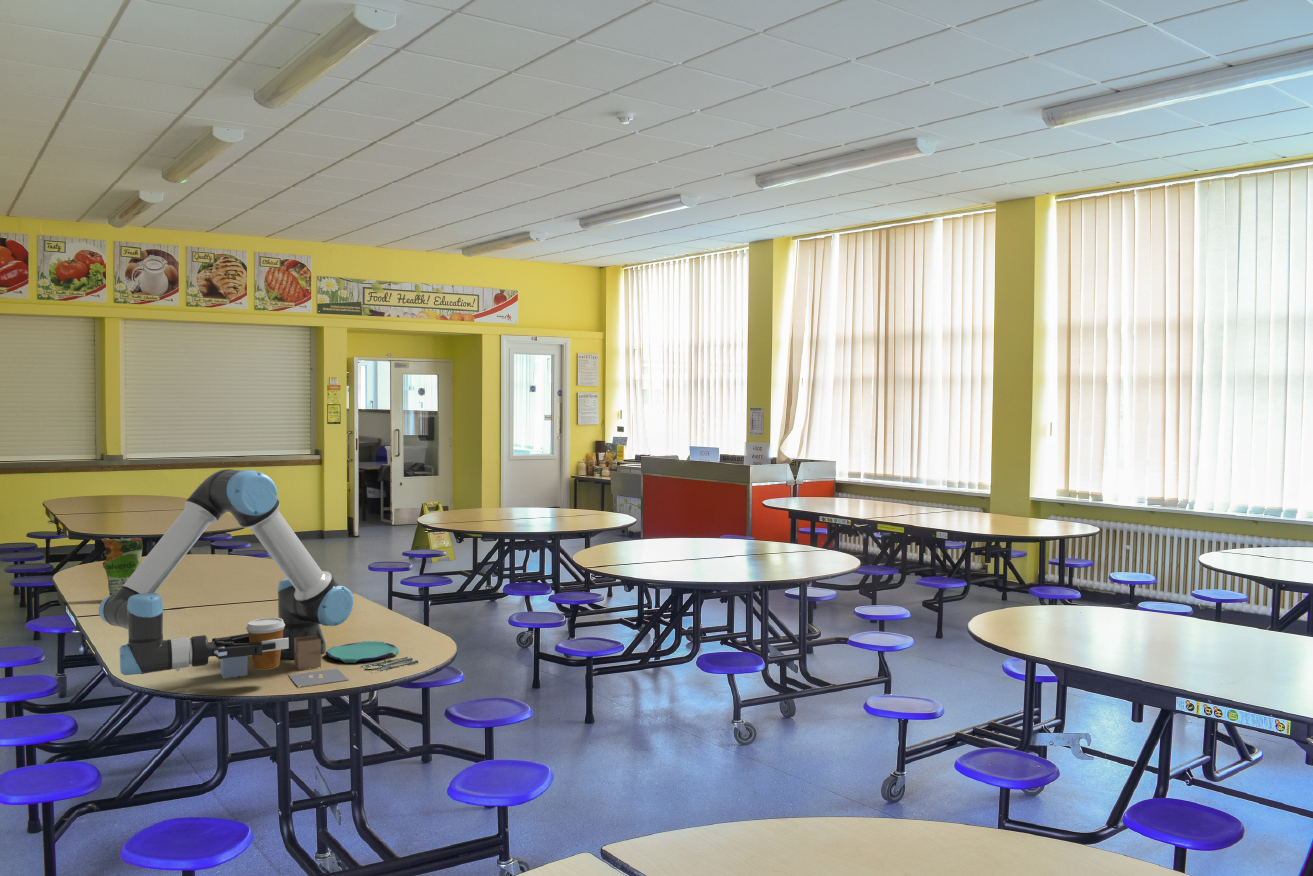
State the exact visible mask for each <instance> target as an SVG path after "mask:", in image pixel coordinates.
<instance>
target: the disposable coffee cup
mask: <svg viewBox="0 0 1313 876" xmlns="http://www.w3.org/2000/svg"><path fill="white" fill-rule="evenodd" d="M284 626H285V624H284V622H283V619H280V618H278V617H266V618H264V617H263V618H258V619H253V620H250V621H249V622H247V625H246V627H245V629H246V632H247V633H248V634H249V641H250V643H259V642H261V641H266V640H274V639H281V638H282V637H283V629H284ZM261 643H262V642H261ZM280 655H281V650H274V651H266V652H262V655H261V656H259V655H251V659H252V666H253V669H255V670H259V671H263V670H264V671H265V670H272V669H275V668H278V667H279V666H280V663H281V658H280Z"/></svg>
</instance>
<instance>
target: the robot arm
mask: <svg viewBox="0 0 1313 876" xmlns="http://www.w3.org/2000/svg"><path fill="white" fill-rule="evenodd" d="M277 495H278V488H277V486H276V484H275V482H274V480H273V479H272V478H271V477H270V476H269V475H267V474H266V473H263V472H261V471H257V470H252V469H251V470H250V469H247V470H246V469H245V470H244V469H233V468H232V469H230V468H229V469H227V468H226V469H220V470H218V471H214V473H212V474H211V475H209V476H208V477H207V478H205V479H204V480H203V481H202V482H201V483H200V484H199V485H198V486H197V487H196V489H194V491H193V492H191V494H190V496H189V497H188V498H187V499H186V500H185V502H184V509H183V510H182V512H181V513H180V514H179V515H178V517H177V518H176V519H175V521H174V522H173V523H172V524H171V526H169V528H168V529H167V531H165V533H164V534H163V535H162V537H161V538H160V539H159V540H158V542H157V543H156V544H155V545H154V546H153V548H152V549H151V550H150V552H149V553H148V554H147V555H146V557H145V558H144V559H143V560H141V564H140V565H139V566H138V568H137V569H136V570H135V571H134V573H133V574H132V575H131V576H130V578H129V579H128V580H127V581H126V583H125V584H124V585H123V586H122V588H121V589H120V590H119V591H118V592H117V594H115V595H110V594H109V595H108V596H107V597H105V598H104V599H103V600H101V602H100V604H99V607H98V614H99V617H100V618H101V619H102V621H103V622H105V623H107V624H108V625H110V626H114V627H119V628H123V629H126V630H128V632H127V634H128V642H127V643H126V644H123V645H120V647H119V670H120V673H121V674H122V675H123V676H130V675H133V676H134V675H144V674H151V673H156V672H164V671H170V670H175V671H177V672H179V671H180V670H181V669H185V668H189V667H190V665H191V667H201V666H207V665H208V663H209V657H215V658H217V659H218V660H220V659H224V658H230V657H240V656H247V657H248V656H249V657H250V656H251V657H252V655H259V656H261V655H262V652H266V651H274V650H281V655H280V659H286V660H290V659H292V660H293V659H294V638H297V637H306V636H315V635H316V636H318V637H319V638H320V639H321V655H322V654H324V653H326V651H327V642H326V639H325V637H324V634H323V630H322V628H321V625H322V626H325V627H335V626H336V627H337V626H339V625H342V624H343V623H345V621H347V619H349V617H350V615H351V614H352V612H353V606H354V605H355V600H354V594H353V593H352V591H351V590H350V589H349V588H347V586H344V585H340V584H339V582H337V581H336V579H335V578H334V576H333V575H332V574H331V572H330V571H323V570H321V568H320V566H319V565H318V564H317V562H316V561H315V560H314V558H313V556H312V555H311V554H310V553H309V551H308V550H307V548H306V547H305V545H304V544H303V542H302V541H301V540H300V538H299V537H298V536H297V534H296V533H295V531H294V530H293V529H292V528H291V526H290V524H289V523H288V522H287V520H286V518H285V517H284V516H283V515H282V513H281V512H280V511H279V509H280V506H281V502H280V500H279V498H278V496H277ZM226 513H231V515H232V516H233V518H234V519H235V520H236V521H237V523H238V524H239V526H240V527H242V528H246V529H250V531H252V533H253V534H254V536H255V537H256V538H257V539H258V541H259V542H260V544H261V545H262V546H263V547H264V549H265V550H266V552H267V553H268V554H269V556H270V557H271V559H272V560H273V561H274V563H276V564H275V565H277V566H278V568H279V570H280V571H281V572H282V573H283V575H284V576H285V577H286V578H283V579H281V580H280V581H279V582H278V587H277V588H278V589H277V598H278V599H277V600H278V602H277V606H278V608H277V609H278V610H277V611H278V612H277V613H278V617H277V618H280V619H283V622H284V624H285V626H284V629H283V637H282V638H281V639H274V640H266V641H261V642H262V643H261V642H259V643H250V641H249V634H248V632H247V633H242V634H237V635H230V636H223V637H213V638H212V639H211V641H208V637H207V635H205V634H203V635H196V636H195V635H194V636H191V637H190V638H189V637H187V636H185V637H179V638H178V637H177V638H171V639H164V623H163V622H164V619H163V618H164V617H163V616H164V615H163V614H164V606H163V600H162V595H160V594H159V593H157V592H158V591H159V589H160V588H161V587H162V585H163V584H164V583H165V582H166V581H167V580H168V578H169V576H171V574H172V573H173V572H174V570H175V569H176V568H177V567H178V565H179V564H180V562H181V561H182V560H183V559H184V558H185V556H186V555H187V554H188V552H189V551H190V550H191V549H192V547H193V546H194V545H195V544H196V542H197V541H199V539H200V537H201V536H202V535H203V534H204V532H205V531H206V530H207V529H208V527H209V526H210V525H211V524H216V523H217V522H218V520H219V519H220V518H221V517H223V516H224V514H226Z"/></svg>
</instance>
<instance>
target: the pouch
mask: <svg viewBox="0 0 1313 876" xmlns="http://www.w3.org/2000/svg"><path fill="white" fill-rule="evenodd" d="M101 541H102V543H104V544H103V545H104V548H105V553H104V556H105V560H104V561H103V562H102V568H103V569H104V570H105V574H106V578H107V585H108V587H107V589H108V591H109V593H108V594H109V596H110V595H115V594H117V592H118V591H119V590H120V589H121V588H122V586H123V585H124V584H125V583H126V581H127V580H128V579H129V578H130V576H131V575H132V574H133V573H134V571H135V570H136V569H137V568H138V566H139V565H140V564H141V563H142V554H143V547H144V544H143V539H142V538H141V537H129V538H124V537H123V536H120V539H119V538H118V539H117V538H112V539H110V538H108V537H104V538H101Z"/></svg>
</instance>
